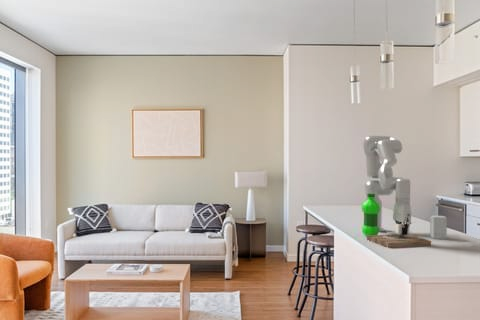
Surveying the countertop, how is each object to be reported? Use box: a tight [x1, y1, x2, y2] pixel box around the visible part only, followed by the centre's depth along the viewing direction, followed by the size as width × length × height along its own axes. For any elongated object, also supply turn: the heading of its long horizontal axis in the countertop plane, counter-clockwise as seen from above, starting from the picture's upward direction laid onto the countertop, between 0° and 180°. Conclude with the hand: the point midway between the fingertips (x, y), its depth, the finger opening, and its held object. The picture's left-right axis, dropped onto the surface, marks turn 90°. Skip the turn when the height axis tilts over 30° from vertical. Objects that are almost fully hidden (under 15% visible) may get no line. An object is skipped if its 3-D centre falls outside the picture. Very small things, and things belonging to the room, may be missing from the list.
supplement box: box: [429, 215, 448, 240], centre depth 239 cm, size 7×7×13 cm
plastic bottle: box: [361, 193, 380, 237], centre depth 241 cm, size 10×10×25 cm
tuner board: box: [366, 233, 432, 249], centre depth 225 cm, size 20×26×3 cm
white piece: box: [386, 223, 411, 237], centre depth 227 cm, size 3×13×7 cm, turn 105°
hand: (402, 233), depth 227 cm, fingers open, 3 cm apart
